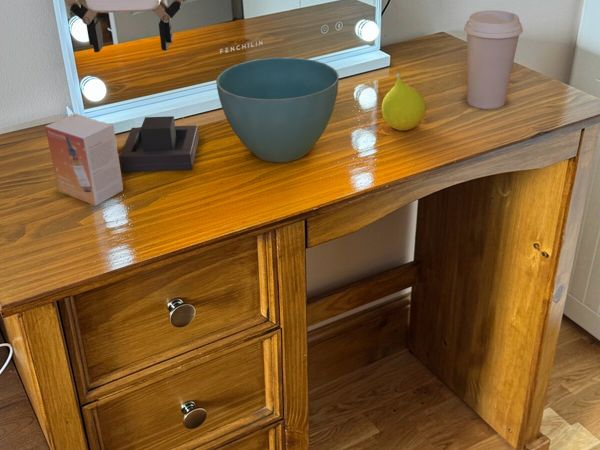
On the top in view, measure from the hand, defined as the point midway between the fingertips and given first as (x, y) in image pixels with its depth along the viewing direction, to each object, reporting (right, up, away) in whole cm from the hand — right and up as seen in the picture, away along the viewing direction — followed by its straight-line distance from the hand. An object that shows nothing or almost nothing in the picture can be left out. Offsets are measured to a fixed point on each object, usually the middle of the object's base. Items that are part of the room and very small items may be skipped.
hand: (132, 48), depth 110 cm
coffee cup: (+57, -4, +24) cm, 62 cm away
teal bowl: (+21, -14, +10) cm, 27 cm away
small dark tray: (+3, -15, +10) cm, 18 cm away
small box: (-6, -21, 0) cm, 22 cm away
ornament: (+41, -10, +16) cm, 45 cm away
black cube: (+2, -14, +9) cm, 16 cm away
